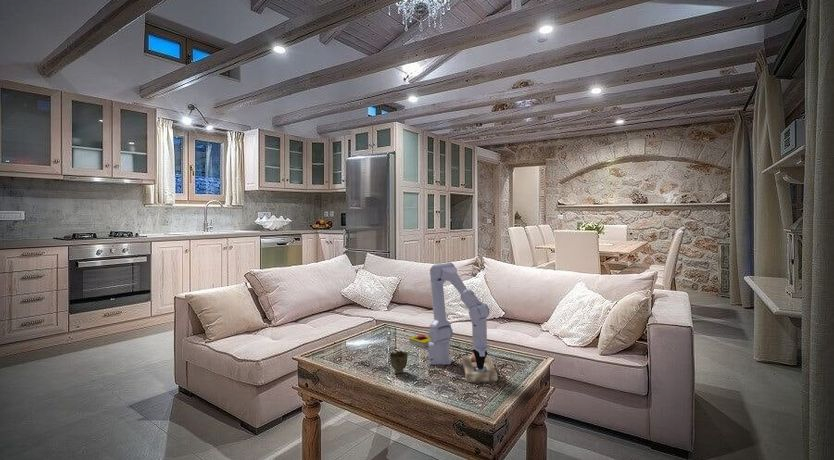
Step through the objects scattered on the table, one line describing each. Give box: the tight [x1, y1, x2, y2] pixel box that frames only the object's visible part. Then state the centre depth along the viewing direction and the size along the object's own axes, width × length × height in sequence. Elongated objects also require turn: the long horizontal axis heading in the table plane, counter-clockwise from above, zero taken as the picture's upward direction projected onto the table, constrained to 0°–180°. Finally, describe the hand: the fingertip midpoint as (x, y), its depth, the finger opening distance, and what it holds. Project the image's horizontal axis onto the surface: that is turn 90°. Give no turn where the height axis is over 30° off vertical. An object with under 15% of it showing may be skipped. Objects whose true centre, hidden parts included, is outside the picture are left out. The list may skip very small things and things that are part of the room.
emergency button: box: [407, 334, 432, 350], centre depth 202 cm, size 9×4×15 cm
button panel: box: [461, 355, 499, 383], centre depth 164 cm, size 12×20×3 cm, turn 178°
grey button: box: [475, 366, 486, 372], centre depth 159 cm, size 4×4×3 cm
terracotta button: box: [471, 352, 476, 362], centre depth 169 cm, size 4×4×3 cm
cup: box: [389, 350, 408, 374], centre depth 165 cm, size 8×7×8 cm
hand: (480, 368), depth 159 cm, fingers closed, pressing on grey button
